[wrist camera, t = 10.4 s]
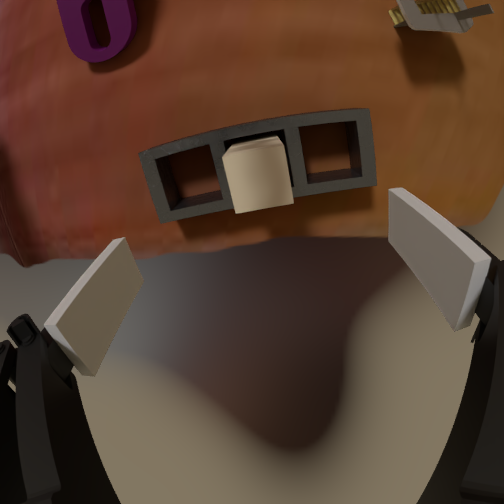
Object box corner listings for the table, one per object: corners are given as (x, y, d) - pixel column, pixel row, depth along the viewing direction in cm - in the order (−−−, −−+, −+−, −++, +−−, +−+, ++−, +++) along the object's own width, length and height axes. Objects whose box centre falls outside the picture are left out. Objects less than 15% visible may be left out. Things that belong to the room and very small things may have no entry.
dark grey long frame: (171, 210, 36) (160, 223, 32) (152, 147, 32) (138, 153, 28) (364, 175, 33) (376, 185, 29) (356, 108, 29) (369, 108, 25)
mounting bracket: (157, 37, 29) (139, -58, 14) (138, 49, 24) (115, -64, 10) (103, 54, 30) (82, -34, 15) (77, 71, 25) (50, -31, 10)
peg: (243, 179, 34) (235, 213, 24) (234, 141, 32) (221, 157, 21) (283, 172, 33) (294, 203, 23) (275, 133, 31) (283, 145, 21)
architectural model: (296, -29, 20) (314, -85, 8) (433, -38, 14) (481, -63, 2) (370, 102, 29) (431, 105, 16) (488, 73, 23) (551, 79, 11)
